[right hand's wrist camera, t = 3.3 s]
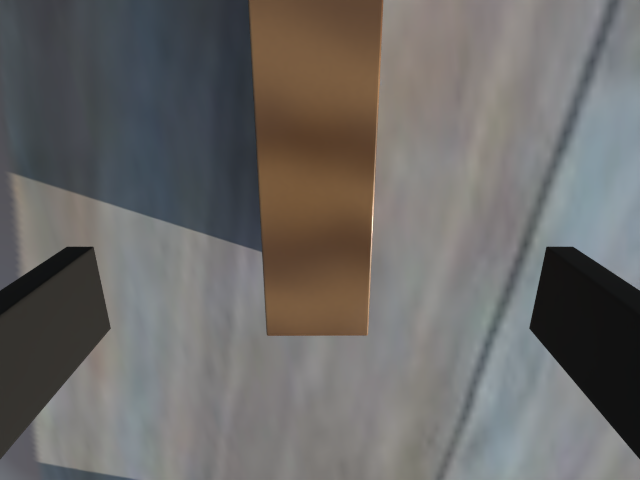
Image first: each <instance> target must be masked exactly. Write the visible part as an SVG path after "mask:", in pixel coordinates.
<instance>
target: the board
mask: <svg viewBox="0 0 640 480" xmlns="http://www.w3.org/2000/svg"><path fill="white" fill-rule="evenodd" d="M248 6H249V24H250V42H251V60H252V78H253V96H254V114H255V132H256V150H257V168H258V186H259V204H260V222H261V240H262V258H263V276H264V294H265V312H266V330H267V335H268V336H317V335H368V322H369V300H370V278H371V256H372V234H373V212H374V191H375V169H376V147H377V125H378V103H379V81H380V60H381V38H382V16H383V0H248Z"/></svg>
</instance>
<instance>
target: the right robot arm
mask: <svg viewBox="0 0 640 480" xmlns="http://www.w3.org/2000/svg"><path fill="white" fill-rule="evenodd" d="M110 329H111V328H110V323H109V318H108V314H107V309H106V304H105V299H104V295H103V290H102V285H101V280H100V276H99V271H98V266H97V261H96V257H95V252H94V247H66V248H64V249H63V250H61V251H60V252H58V253H57V254H55V255H54V256H52V257H51V258H49V259H48V260H46V261H45V262H43V263H42V264H40V265H39V266H37V267H36V268H34V269H33V270H31V271H29V272H28V273H26V274H25V275H23V276H22V277H20V278H19V279H17V280H16V281H14V282H13V283H11V284H10V285H8V286H7V287H5V288H4V289H2V290H1V291H0V459H1V458H2V456H3V455H4V454H5V453H6V452H7V451H8V449H9V448H10V447H11V446H12V445H13V443H14V442H15V441H16V440H17V439H18V438H19V436H20V435H21V434H22V433H23V432H24V430H25V429H26V428H27V427H28V426H29V425H30V423H31V422H32V421H33V420H34V419H35V417H36V416H37V415H38V414H39V413H40V411H41V410H42V409H43V408H44V407H45V406H46V404H47V403H48V402H49V401H50V400H51V398H52V397H53V396H54V395H55V394H56V393H57V391H58V390H59V389H60V388H61V387H62V385H63V384H64V383H65V382H66V381H67V379H68V378H69V377H70V376H71V375H72V374H73V372H74V371H75V370H76V369H77V368H78V366H79V365H80V364H81V363H82V362H83V361H84V359H85V358H86V357H87V356H88V355H89V353H90V352H91V351H92V350H93V349H94V347H95V346H96V345H97V344H98V343H99V342H100V340H101V339H102V338H103V337H104V336H105V334H106V333H107V332H108V331H109V330H110ZM529 329H530V330H531V331H532V332H533V333H534V334H535V336H536V337H537V338H538V339H539V340H540V342H541V343H542V344H543V345H544V346H545V347H546V349H547V350H548V351H549V352H550V353H551V355H552V356H553V357H554V358H555V359H556V361H557V362H558V363H559V364H560V365H561V366H562V368H563V369H564V370H565V371H566V372H567V374H568V375H569V376H570V377H571V378H572V379H573V381H574V382H575V383H576V384H577V385H578V387H579V388H580V389H581V390H582V391H583V393H584V394H585V395H586V396H587V397H588V398H589V400H590V401H591V402H592V403H593V404H594V406H595V407H596V408H597V409H598V410H599V411H600V413H601V414H602V415H603V416H604V417H605V419H606V420H607V421H608V422H609V423H610V425H611V426H612V427H613V428H614V429H615V430H616V432H617V433H618V434H619V435H620V436H621V438H622V439H623V440H624V441H625V442H626V443H627V445H628V446H629V447H630V448H631V449H632V451H633V452H634V453H635V454H636V455H637V457H638V458H639V459H640V291H639V290H638V289H636V288H635V287H633V286H632V285H630V284H629V283H627V282H626V281H624V280H623V279H621V278H620V277H618V276H617V275H615V274H614V273H612V272H611V271H609V270H607V269H606V268H604V267H603V266H601V265H600V264H598V263H597V262H595V261H594V260H592V259H591V258H589V257H588V256H586V255H585V254H583V253H582V252H580V251H579V250H577V249H576V248H574V247H546V252H545V257H544V261H543V266H542V271H541V276H540V280H539V285H538V290H537V295H536V299H535V304H534V309H533V314H532V318H531V323H530V328H529Z"/></svg>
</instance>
